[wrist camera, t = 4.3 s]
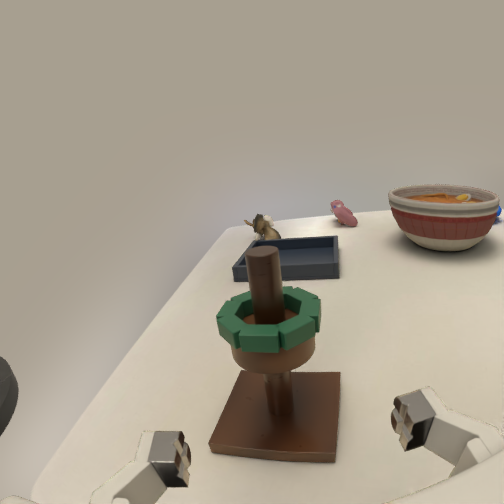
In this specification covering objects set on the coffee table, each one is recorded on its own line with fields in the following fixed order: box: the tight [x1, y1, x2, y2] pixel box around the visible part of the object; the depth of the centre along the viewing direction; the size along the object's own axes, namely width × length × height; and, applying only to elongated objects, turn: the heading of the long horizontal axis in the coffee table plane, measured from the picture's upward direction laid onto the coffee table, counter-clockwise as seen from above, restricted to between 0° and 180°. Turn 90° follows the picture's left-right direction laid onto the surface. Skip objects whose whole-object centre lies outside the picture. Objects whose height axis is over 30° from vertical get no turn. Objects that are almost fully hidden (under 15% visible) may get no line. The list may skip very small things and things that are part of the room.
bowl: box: [388, 185, 500, 251], centre depth 53 cm, size 23×23×10 cm
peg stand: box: [208, 246, 340, 462], centre depth 21 cm, size 9×9×14 cm
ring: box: [216, 286, 321, 353], centre depth 20 cm, size 6×6×1 cm
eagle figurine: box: [244, 214, 281, 240], centre depth 71 cm, size 8×7×9 cm
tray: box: [232, 236, 339, 282], centre depth 56 cm, size 17×15×2 cm
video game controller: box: [331, 200, 358, 226], centre depth 78 cm, size 10×5×7 cm, turn 171°
